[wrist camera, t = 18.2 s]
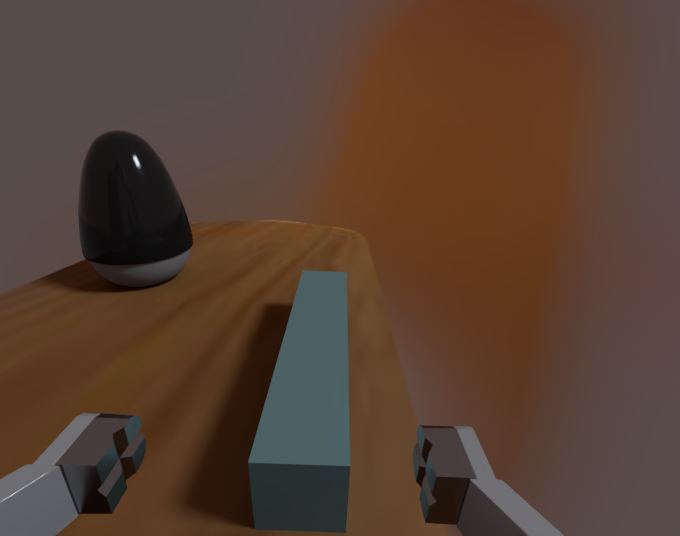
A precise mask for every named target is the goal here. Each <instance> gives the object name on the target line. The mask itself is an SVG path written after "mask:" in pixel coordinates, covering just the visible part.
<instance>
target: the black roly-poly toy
mask: <svg viewBox="0 0 680 536" xmlns="http://www.w3.org/2000/svg"><path fill="white" fill-rule="evenodd" d="M78 218H79V232H80V242H81V248H82V252H83V255H84V257H85V258H86V259H87V260H89V261H90V263H91V264H92V266H93V267H94V269H95V270H96V271H97V272H98V273H99V274H100V275H101V276H102V277H104V278H105V279H106V280H108V281H110V282H112V283H115V284H118V285H122V286H128V287H146V286H152V285H156V284H160V283H162V282H165V281H167V280H169V279H171V278H173V277H174V276H176V275H177V274H178V273H179V272H180V271H181V270H182V269H183V268H184V267H185V265H186V263H187V261H188V258H189V255H190V248H191V246H192V245H193V237H192V232H191V228H190V224H189V221H188V218H187V215H186V212H185V209H184V206H183V203H182V201H181V198H180V196H179V194H178V191H177V189H176V187H175V185H174V183H173V180H172V178H171V176H170V174H169V172H168V170H167V169H166V167H165V165H164V164H163V162H162V160H161V159H160V157H159V156H158V155H157V153H156V152H155V151H154V150H153V148H152V147H151V146H150V145H149V144H148V143H147V142H146V141H145V140H144V139H142V138H141V137H139V136H137V135H135V134H133V133H130V132H126V131H120V130H115V131H109V132H106V133H103V134H101V135H100V136H98V137H97V138H96V139H95V140H94V141H93V142H92V144H91V145H90V147H89V149H88V151H87V154H86V156H85V160H84V163H83V167H82V172H81V179H80V189H79V206H78Z"/></svg>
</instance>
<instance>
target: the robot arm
mask: <svg viewBox="0 0 680 536" xmlns="http://www.w3.org/2000/svg"><path fill="white" fill-rule="evenodd" d="M141 426H142V424H141V421H140V417H139V416H132V415H116V414H96V413H82V414H80V415H79V416H77V417H76V418H75V419H74V420H73V421H72V422H71V423H70V424H69V425H68V426H67V427H66V429H65V430H64V431H63V432H62V433H61V434H60V435H59V436H58V437H57V438H56V439H55V441H54V442H53V443H52V444H51V445H50V446H49V447H48V448H47V449H46V450H45V451H44V452H43V454H42V455H41V456H40V457H39V458H38V459H37V460H36V461H35V462H34V463H33V464H32V465H25V466H23V467H21V468H20V469H18V470H16V471H14V472H13V473H11V474H9V475H7V476H6V477H4V478H2V479H0V536H55V535H57V534H58V533H59V532H60V531H61V530H62V529H64V528H65V527H66V526H67V525H68V524H69V523H71V522H72V521H73V520H74V519H75V518H76V517H78V514H112V513H113V511H114V509H115V508H116V506H117V504H118V503H119V501H120V499H121V498H122V496H123V494H124V492H125V491H126V489H127V485H126V480H127V479H128V478H130V477H131V476H132V475H134V474H135V473H136V472H137V470H138V469H139V467H140V465H141V463H142V461H143V458H144V455H145V451H146V441H145V436H143V435H142V434H141V433H140V432H139V431H138V430H139V429H140V427H141ZM417 439H418V443H417V444H416V445H415V446H414V452H413V467H414V474H415V479H416V482H417V483H418V484H419V485H420V486H421V493H420V502H421V506H422V510H423V515H424V519H425V523H435V524H451V525H457V528H458V529H459V530H460V532H461V533H462V535H463V536H564V535H563V534H561V533H560V532H559V531H558V530H557V529H556V528H555V527H554V526H553V525H551V524H550V523H549V522H548V521H547V520H546V519H545V518H544V517H543V516H541V515H540V514H539V513H538V512H537V511H536V510H535V509H534V508H532V507H531V506H530V505H529V504H528V503H527V502H526V501H525V500H523V499H522V498H521V497H520V496H519V495H518V494H517V493H516V492H515V491H513V490H512V489H511V488H510V487H509V486H508V485H507V484H506V483H504V482H503V481H502V480H496V478H495V476H494V474H493V471H492V469H491V467H490V465H489V463H488V460H487V458H486V456H485V454H484V452H483V449H482V447H481V445H480V443H479V441H478V438H477V436H476V434H475V432H474V430H473V429H472V428H471V427H463V426H430V425H429V426H428V425H427V426H426V425H419V427H418V430H417Z"/></svg>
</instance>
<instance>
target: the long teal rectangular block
mask: <svg viewBox="0 0 680 536" xmlns="http://www.w3.org/2000/svg"><path fill="white" fill-rule="evenodd" d="M248 468H249V478H250V488H251V498H252V508H253V518H254V528H255V529H261V530H288V531H315V532H342V533H346V520H347V505H348V491H349V477H350V427H349V375H348V324H347V272H331V271H304V270H303V271H302V275H301V278H300V282H299V285H298V289H297V292H296V296H295V299H294V303H293V306H292V310H291V313H290V317H289V320H288V324H287V327H286V331H285V334H284V338H283V341H282V345H281V348H280V352H279V355H278V359H277V363H276V366H275V370H274V373H273V377H272V380H271V384H270V387H269V391H268V394H267V398H266V401H265V405H264V408H263V412H262V415H261V419H260V422H259V426H258V429H257V433H256V436H255V440H254V443H253V447H252V450H251V454H250V457H249V461H248Z"/></svg>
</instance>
